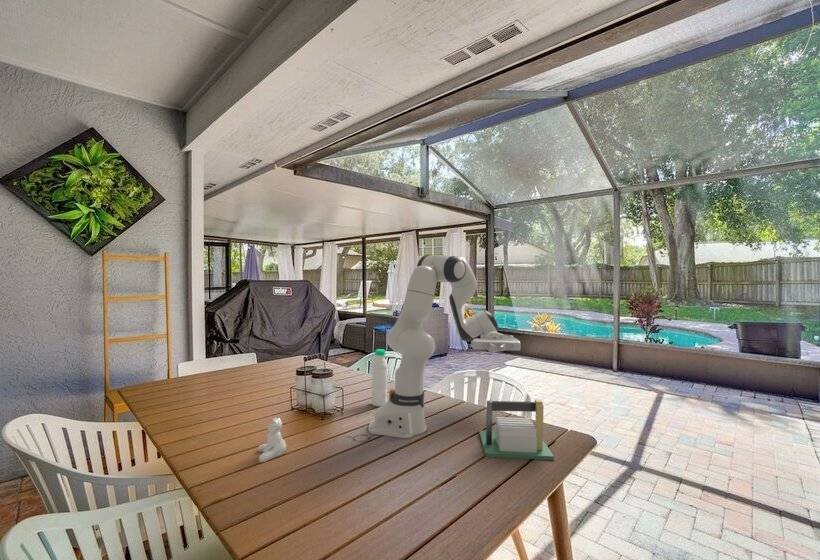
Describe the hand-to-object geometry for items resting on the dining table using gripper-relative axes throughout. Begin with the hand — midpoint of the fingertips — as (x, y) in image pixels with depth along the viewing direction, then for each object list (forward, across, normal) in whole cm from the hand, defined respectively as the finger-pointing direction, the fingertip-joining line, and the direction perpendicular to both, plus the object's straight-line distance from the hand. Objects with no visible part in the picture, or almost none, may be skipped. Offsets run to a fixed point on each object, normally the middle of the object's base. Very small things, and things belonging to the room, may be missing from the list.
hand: (498, 348), depth 153 cm
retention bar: (+24, +1, +29) cm, 37 cm away
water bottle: (-14, -51, +30) cm, 61 cm away
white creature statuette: (+36, -79, +30) cm, 92 cm away
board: (+22, +2, +30) cm, 37 cm away
